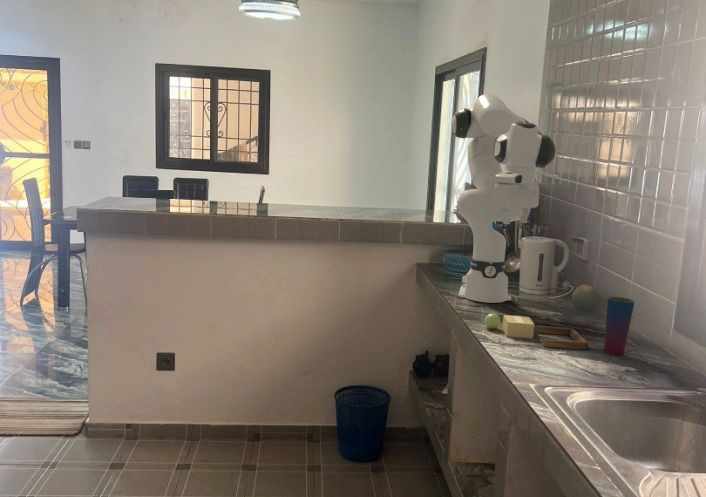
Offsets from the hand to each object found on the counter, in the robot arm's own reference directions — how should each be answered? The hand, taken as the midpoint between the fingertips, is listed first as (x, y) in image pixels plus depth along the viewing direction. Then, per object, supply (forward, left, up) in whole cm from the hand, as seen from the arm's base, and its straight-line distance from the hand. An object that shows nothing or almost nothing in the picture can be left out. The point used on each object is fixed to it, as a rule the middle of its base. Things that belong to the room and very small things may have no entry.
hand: (514, 223), depth 193 cm
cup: (+21, +26, -32) cm, 46 cm away
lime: (+6, -5, -31) cm, 32 cm away
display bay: (+13, +12, -31) cm, 36 cm away
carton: (+9, +2, -32) cm, 33 cm away
